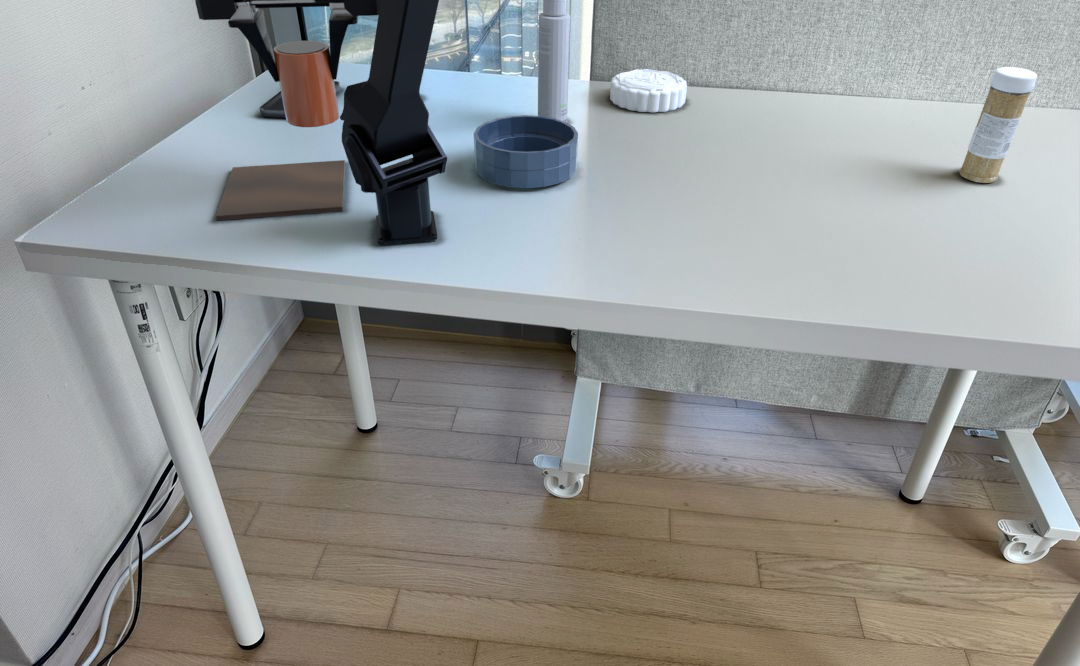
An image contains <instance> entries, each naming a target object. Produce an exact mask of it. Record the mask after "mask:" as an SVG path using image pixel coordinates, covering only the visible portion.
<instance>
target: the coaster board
mask: <svg viewBox="0 0 1080 666" xmlns="http://www.w3.org/2000/svg"><path fill="white" fill-rule="evenodd" d="M345 177H346V160H345V159H341V160H327V161H325V160H324V161H310V162H297V163H296V162H295V163H293V162H292V163H281V164H265V165H264V164H262V165H249V166H235V167H234V166H233V167H232V169H231V171H230V175H229V177H228V180H227V183H226V186H225V188H224V190H223V194H222V197H221V200H220V202H219V206H218V207H217V212H216V215H215V219H216V221H228V220H229V221H231V220H243V219H244V220H245V219H256V218H269V217H283V216H284V217H285V216H296V215H297V216H298V215H307V214H308V215H310V214H325V213H336V212H337V213H338V212H344V203H345V202H344V201H345V200H344V199H345V182H346V181H345V180H346V179H345Z"/></svg>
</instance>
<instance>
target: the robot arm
mask: <svg viewBox="0 0 1080 666" xmlns="http://www.w3.org/2000/svg"><path fill="white" fill-rule="evenodd" d="M194 2H195V7H196V11H197V15H198V19H199V20H202V21H219V20H223V21H224V20H225V21H226V20H228V21H227V24H228V27H229V28H231V29H238V30H239V32H240V33H242V35H243V37H245V39H246V40H247V42H248V43H249V44H250V45H251V46H252V47H253V49H254V50H255V52H256V53H257V55H258V57H259V58H260V60H261V61H262V63H263V65H264V66H265V68H266V70H267V71H268V73H269V74H270V76H271V78H272V79H273V81H274V82H275V83H279V79H278V73H277V68H276V63H275V58H274V52H273V49H274V48H273V45H272V42H271V39H270V35H269V32H268V28H267V23H266V16H265V11H264V9H281V8H283V9H285V8H287V9H288V8H318V7H319V8H321V7H329V10H330V14H329V18H328V33H329V35H328V36H329V50H330V65H331V73H332V78H333V80H334V81H337V78H338V71H339V64H340V58H341V53H342V52H341V51H342V46H343V43H344V39H345V36H346V33H347V30H348V28H349V26H351V25H357V24H358V22H359V17H366V16H368V17H369V16H377V22H376V28H375V29H376V30H375V35H374V36H375V37H374V42H373V47H372V48H373V49H372V54H371V62H370V68H369V74H368V79H367V80H364V81H360V82H357V83H353V84H349V85H347V86H346V88H345V91H344V93H343V108H342V113H341V114H340V115H339V119H340V120H341V121H343V122H342V129H341V130H342V131H341V143H342V146H343V149H344V153H345V155H346V159H347V161H348V164H349V167H350V171H351V173H352V176H353V178H354V182H355V184H357V185H359V186H360V191H361V192H362V193H365V194H368V193H369V194H370V193H371V194H373V193H374V194H375V201H376V208H377V209H376V210H377V214H376V215H375V233H376V234H375V235H376V236H375V237H376V244H377V245H380V246H383V245H384V246H385V245H394V244H395V245H396V244H405V243H407V244H408V243H419V242H430V241H437V240H438V239H439V238H438V237H439V236H438V230H437V225H436V224H437V223H436V218H435V213H434V211H433V210H432V209H431V197H430V196H431V195H430V186H429V185H430V184H429V178H431V177H434V176H436V175H442V174H443V173H445V172H446V168H447V163H448V157H447V154H446V153H445V151H444V149H443V147H442V146H441V144H440V142H439V141H438V139H437V138H436V136H435V134H434V132H433V131H432V129H431V127H430V125H429V119H430V118H429V117H430V113H429V111H428V108H427V106H426V104H425V102H424V100H423V97H422V96H421V94H420V90H421V86H422V85H421V84H422V80H423V75H424V71H425V66H426V62H427V57H428V52H429V48H430V45H431V44H430V43H431V39H432V34H433V30H434V25H435V21H436V15H437V11H438V6H439V3H440V0H194ZM409 156H412V157H410V158H408V159H405V160H401V159H403V158H406V157H409ZM397 160H401V161H399V162H396V163H393V164H390V163H391V162H394V161H397ZM386 164H390V165H387V166H383V165H386ZM382 166H383V167H382Z"/></svg>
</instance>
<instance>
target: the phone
mask: <svg viewBox="0 0 1080 666" xmlns="http://www.w3.org/2000/svg"><path fill="white" fill-rule="evenodd" d="M334 84H335V90H336V94H337V93H339V92H340V91H341V85H340V84H341V83H340V82H339V81H337V80H334ZM259 111H260V116H261V117H263V118H277V119H286V116H285V110H284V105H283V100H282V95H281V90H280V91H278V93H276V94H275V95H274V96H272V97H271V98H269V100H267V101H266V102H264V103H263V104H262V105H261V106H259Z"/></svg>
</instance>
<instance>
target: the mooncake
mask: <svg viewBox="0 0 1080 666" xmlns="http://www.w3.org/2000/svg"><path fill="white" fill-rule="evenodd" d="M687 90H688V82H687V81H686V80H685V79H684V78H683V77H681V76H679V75H678V74H676V73H672V72H670V71H666V70H665V71H663V70H656V69H650V68H645V69H644V68H643V69H641V68H640V69H639V68H636V69H633V70H630V71H624V72H619V73H618V74H615V76H613V77H612V78H611V80H610V92H609V93H610V94H609V99H610V101H611V102H612V104H613V105H615V106H618V107H619V108H621V109H626V110H628V111H633V112H635V111H636V112H639V113H650V114H651V113H655V114H656V113H666V112H669V111H670V112H671V111H675V110H676V109H680V108H681V107H683V105H685V103H686V100H687V99H686V98H687Z"/></svg>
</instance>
